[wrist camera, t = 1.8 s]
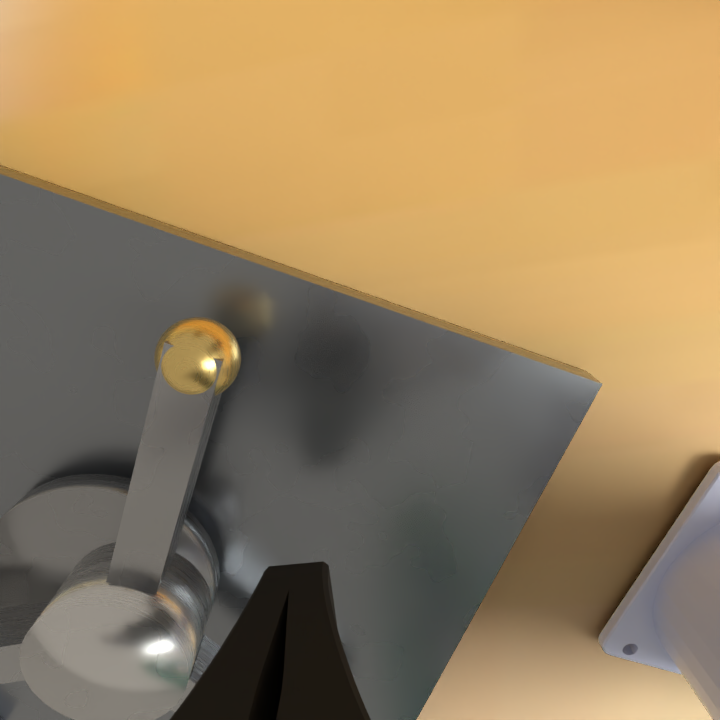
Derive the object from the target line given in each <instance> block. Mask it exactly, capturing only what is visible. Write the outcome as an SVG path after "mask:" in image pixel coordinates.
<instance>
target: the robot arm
mask: <svg viewBox="0 0 720 720" xmlns="http://www.w3.org/2000/svg"><path fill="white" fill-rule="evenodd" d="M598 641H599V644H600V645H601V647H602V649H603V651H604V652H605V653H607V654H609V655H612V656H615V657H619V658H623V659H626V660H630V661H634V662H637V663H641V664H645V665H648V666H652V667H656V668H660V669H663V670H667V671H671V672H674V673H678V674H682V675H683V676H684V678H685V679H686V681H687V682H688V684H689V685H690V686H691V688H692V689H693V691H694V692H695V694H696V695H697V697H698V698H699V700H700V701H701V703H702V704H703V706H704V707H705V709H706V710H707V712H708V713H709V715H710V716H711V718H712V719H713V720H720V461H718V462H717V463H715V464H714V465H713V466H712V467H711V469H710V470H709V472H708V473H707V474H706V476H705V477H704V479H703V480H702V482H701V483H700V485H699V486H698V488H697V489H696V491H695V492H694V494H693V495H692V497H691V498H690V500H689V501H688V503H687V504H686V506H685V507H684V509H683V510H682V512H681V513H680V515H679V516H678V518H677V519H676V521H675V522H674V524H673V525H672V527H671V528H670V530H669V531H668V533H667V534H666V536H665V537H664V539H663V540H662V542H661V543H660V545H659V546H658V548H657V549H656V551H655V552H654V554H653V555H652V557H651V558H650V560H649V561H648V563H647V564H646V566H645V567H644V569H643V570H642V572H641V573H640V575H639V576H638V578H637V579H636V581H635V582H634V584H633V585H632V587H631V588H630V590H629V591H628V592H627V594H626V595H625V597H624V598H623V600H622V601H621V603H620V604H619V606H618V607H617V609H616V610H615V612H614V613H613V615H612V616H611V618H610V619H609V621H608V622H607V624H606V625H605V627H604V628H603V630H602V631H601V633H600V635H599V637H598ZM170 720H371V719H370V717H369V714H368V712H367V710H366V708H365V705H364V703H363V701H362V698H361V696H360V693H359V691H358V688H357V686H356V683H355V680H354V678H353V675H352V672H351V669H350V667H349V664H348V661H347V658H346V655H345V652H344V649H343V646H342V643H341V639H340V636H339V632H338V629H337V621H336V614H335V607H334V599H333V592H332V585H331V578H330V571H329V565H328V564H326V563H325V562H323V561H321V562H310V563H300V564H289V565H278V566H269V567H268V568H267V569H266V570H265V571H264V573H263V575H262V577H261V579H260V581H259V583H258V584H257V586H256V588H255V590H254V592H253V594H252V596H251V597H250V599H249V601H248V603H247V604H246V606H245V608H244V610H243V611H242V613H241V615H240V617H239V618H238V620H237V622H236V623H235V625H234V626H233V628H232V630H231V631H230V633H229V635H228V636H227V638H226V639H225V641H224V643H223V644H222V646H221V648H220V649H219V651H218V652H217V654H216V655H215V657H214V658H213V660H212V661H211V663H210V664H209V666H208V667H207V668H206V670H205V671H204V673H203V674H202V676H201V677H200V679H199V680H198V682H197V683H196V684H195V686H194V687H193V689H192V690H191V692H190V693H189V694H188V696H187V697H186V698H185V700H184V701H183V703H182V704H181V705H180V707H179V708H178V709H177V711H176V712H175V713H174V715H173V716H172V717H171V718H170Z"/></svg>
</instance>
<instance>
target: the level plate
mask: <svg viewBox="0 0 720 720" xmlns="http://www.w3.org/2000/svg"><path fill="white" fill-rule="evenodd" d="M191 317H205V318H209V319H213V320H215V321H218V322H219V323H221V324H223V325H224V326H225V327H227V328H228V329H229V330H230V331H231V332H232V334H233V335H234V337H235V338H236V340H237V342H238V344H239V347H240V352H241V365H240V369H239V372H238V375H237V377H236V378H235V380H234V381H233V383H232V384H231V385H230V386H229V387H228V388H227V389H226V390H225V391H223V392H222V395H221V398H220V402H219V405H218V408H217V412H216V415H215V419H214V422H213V426H212V429H211V432H210V436H209V439H208V443H207V446H206V450H205V453H204V456H203V460H202V463H201V467H200V470H199V474H198V477H197V481H196V484H195V487H194V491H193V494H192V498H191V501H190V505H189V508H188V510H189V511H190V512H191V513H192V514H193V515H194V516H195V517H196V518H197V520H198V521H199V522H200V523H201V525H202V526H203V527H204V528H205V530H206V532H207V533H208V535H209V537H210V538H211V540H212V543H213V545H214V547H215V550H216V553H217V557H218V561H219V571H220V577H219V586H218V590H217V594H216V598H215V601H214V604H213V607H212V610H211V613H210V616H209V619H208V622H207V625H206V628H205V631H204V634H205V635H206V636H207V637H209V638H210V639H211V640H212V641H214V642H215V643H216V644H217V645H219V646H220V647H221V646H222V644H223V643H224V641H225V639H226V638H227V636H228V635H229V633H230V631H231V630H232V628H233V626H234V625H235V623H236V622H237V620H238V618H239V617H240V615H241V613H242V611H243V610H244V608H245V606H246V604H247V603H248V601H249V599H250V597H251V596H252V594H253V592H254V590H255V588H256V586H257V584H258V583H259V581H260V579H261V577H262V575H263V573H264V571H265V570H266V569H267V568H268V567H269V566H278V565H289V564H300V563H310V562H321V561H323V562H325V563H326V564H328V565H329V571H330V578H331V585H332V592H333V599H334V607H335V614H336V621H337V629H338V632H339V636H340V639H341V643H342V646H343V649H344V652H345V655H346V658H347V661H348V664H349V667H350V669H351V672H352V675H353V678H354V680H355V683H356V686H357V688H358V691H359V693H360V696H361V698H362V701H363V703H364V705H365V708H366V710H367V712H368V714H369V717H370V719H371V720H416V719H417V717H418V716H419V714H420V712H421V710H422V708H423V707H424V705H425V703H426V701H427V699H428V698H429V696H430V694H431V692H432V690H433V689H434V687H435V685H436V683H437V681H438V680H439V678H440V676H441V674H442V672H443V671H444V669H445V667H446V665H447V663H448V661H449V660H450V658H451V656H452V654H453V652H454V651H455V649H456V647H457V645H458V643H459V642H460V640H461V638H462V636H463V634H464V633H465V631H466V629H467V627H468V625H469V624H470V622H471V620H472V618H473V616H474V615H475V613H476V611H477V609H478V607H479V606H480V604H481V602H482V600H483V598H484V597H485V595H486V593H487V591H488V589H489V588H490V586H491V584H492V582H493V580H494V579H495V577H496V575H497V573H498V571H499V570H500V568H501V566H502V564H503V562H504V561H505V559H506V557H507V555H508V553H509V552H510V550H511V548H512V546H513V544H514V543H515V541H516V539H517V537H518V535H519V533H520V532H521V530H522V528H523V526H524V524H525V523H526V521H527V519H528V517H529V515H530V514H531V512H532V510H533V508H534V506H535V505H536V503H537V501H538V499H539V497H540V496H541V494H542V492H543V490H544V488H545V487H546V485H547V483H548V481H549V479H550V478H551V476H552V474H553V472H554V470H555V469H556V467H557V465H558V463H559V461H560V460H561V458H562V456H563V454H564V452H565V451H566V449H567V447H568V445H569V443H570V442H571V440H572V438H573V436H574V434H575V433H576V431H577V429H578V427H579V425H580V424H581V422H582V420H583V418H584V416H585V415H586V413H587V411H588V409H589V407H590V406H591V404H592V402H593V400H594V398H595V396H596V395H597V393H598V391H599V389H600V387H601V386H602V383H600V382H599V381H598V380H597V379H595V378H594V377H593V376H592V375H590V374H589V373H588V372H587V371H585V370H582V369H579V368H576V367H573V366H570V365H567V364H565V363H562V362H559V361H556V360H553V359H550V358H548V357H545V356H542V355H539V354H536V353H533V352H530V351H528V350H525V349H522V348H519V347H516V346H513V345H510V344H508V343H505V342H502V341H499V340H496V339H493V338H491V337H488V336H485V335H482V334H479V333H476V332H473V331H471V330H468V329H465V328H462V327H459V326H456V325H454V324H451V323H448V322H445V321H442V320H439V319H436V318H434V317H431V316H428V315H425V314H422V313H419V312H416V311H414V310H411V309H408V308H405V307H402V306H399V305H397V304H394V303H391V302H388V301H385V300H382V299H379V298H377V297H374V296H371V295H368V294H365V293H362V292H360V291H357V290H354V289H351V288H348V287H345V286H342V285H340V284H337V283H334V282H331V281H328V280H325V279H323V278H320V277H317V276H314V275H311V274H308V273H305V272H303V271H300V270H297V269H294V268H291V267H288V266H285V265H283V264H280V263H277V262H274V261H271V260H268V259H266V258H263V257H260V256H257V255H254V254H251V253H248V252H246V251H243V250H240V249H237V248H234V247H231V246H229V245H226V244H223V243H220V242H217V241H214V240H211V239H209V238H206V237H203V236H200V235H197V234H194V233H191V232H189V231H186V230H183V229H180V228H177V227H174V226H172V225H169V224H166V223H163V222H160V221H157V220H154V219H152V218H149V217H146V216H143V215H140V214H137V213H135V212H132V211H129V210H126V209H123V208H120V207H117V206H115V205H112V204H109V203H106V202H103V201H100V200H97V199H95V198H92V197H89V196H86V195H83V194H80V193H78V192H75V191H72V190H69V189H66V188H63V187H60V186H58V185H55V184H52V183H49V182H46V181H43V180H41V179H38V178H35V177H32V176H29V175H26V174H23V173H21V172H18V171H15V170H12V169H9V168H6V167H3V166H1V165H0V518H1V517H2V516H3V515H4V514H5V513H6V512H7V511H8V510H10V509H11V508H12V507H13V506H14V505H15V504H16V503H17V502H18V501H19V500H20V499H21V498H22V497H24V496H25V495H26V494H27V493H29V492H30V491H31V490H33V489H35V488H37V487H39V486H40V485H42V484H44V483H47V482H50V481H52V480H55V479H58V478H62V477H66V476H71V475H79V474H107V475H115V476H121V477H125V478H129V479H131V478H132V474H133V470H134V466H135V462H136V457H137V453H138V449H139V445H140V441H141V437H142V433H143V429H144V424H145V420H146V416H147V412H148V408H149V404H150V400H151V396H152V391H153V387H154V383H155V379H156V375H157V371H156V368H155V362H154V355H155V348H156V345H157V343H158V341H159V339H160V337H161V335H162V334H163V333H164V332H165V331H166V330H167V329H168V328H169V327H170V326H171V325H173V324H174V323H176V322H178V321H180V320H183V319H186V318H191ZM204 634H203V635H204ZM173 715H174V712H173V711H171V710H170V711H168V712H167V713H166V714H164V715H162V716H161V717H159V718H157V719H155V720H170V718H171V717H172V716H173ZM0 720H74V719H71V718H69V717H67V716H64V715H62V714H60V713H59V712H57V711H55V710H54V709H52V708H51V707H49V706H48V705H46V704H45V703H44V702H43V701H42V700H41V699H39V698H38V697H37V696H36V695H35V693H34V692H33V691H32V690H31V689H30V687H29V686H28V684H27V682H26V681H25V680H24V681H17V682H11V683H4V684H0Z"/></svg>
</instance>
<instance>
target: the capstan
mask: <svg viewBox="0 0 720 720" xmlns="http://www.w3.org/2000/svg"><path fill="white" fill-rule="evenodd" d="M154 362H155V368H156V371H157V375H156V379H155V383H154V387H153V391H152V396H151V400H150V404H149V408H148V412H147V416H146V420H145V424H144V429H143V433H142V437H141V441H140V445H139V449H138V453H137V457H136V462H135V466H134V470H133V474H132V478H131V479H129V478H125V477H121V476H115V475H107V474H79V475H71V476H66V477H62V478H58V479H55V480H52V481H50V482H47V483H44V484H42V485H40V486H39V487H37V488H35V489H33V490H31V491H30V492H29V493H27V494H26V495H25V496H24V497H22V498H21V499H20V500H19V501H18V502H17V503H16V504H15V505H14V506H13V507H12V508H11V509H10V510H8V511H7V512H6V513H5V514H4V515H3V516H2V517H1V518H0V684H4V683H11V682H17V681H24V680H25V681H26V682H27V684H28V686H29V687H30V689H31V690H32V691H33V692H34V693H35V695H36V696H37V697H38V698H39V699H41V700H42V701H43V702H44V703H45V704H46V705H48V706H49V707H51V708H52V709H54V710H55V711H57V712H59V713H60V714H62V715H64V716H67V717H69V718H71V719H74V720H155V719H157V718H159V717H161V716H162V715H164V714H166V713H167V712H168V711H170V710H171V711H173V712H174V713H175V712H176V711H177V709H178V708H179V707H180V705H181V704H182V703H183V701H184V700H185V698H186V697H187V696H188V694H189V693H190V692H191V690H192V689H193V687H194V686H195V684H196V683H197V682H198V680H199V679H200V677H201V676H202V674H203V673H204V671H205V670H206V668H207V667H208V666H209V664H210V663H211V661H212V660H213V658H214V657H215V655H216V654H217V652H218V651H219V649H220V648H221V647H220V646H219V645H217V644H216V643H215V642H214V641H212V640H211V639H210V638H209V637H207V636H206V635H205V634H204V631H205V628H206V625H207V622H208V619H209V616H210V613H211V610H212V607H213V604H214V601H215V598H216V594H217V590H218V586H219V577H220V571H219V561H218V557H217V553H216V550H215V547H214V545H213V543H212V540H211V538H210V537H209V535H208V533H207V532H206V530H205V528H204V527H203V526H202V525H201V523H200V522H199V521H198V520H197V518H196V517H195V516H194V515H193V514H192V513H191V512H190V511H189V510H188V508H189V505H190V501H191V498H192V494H193V491H194V487H195V484H196V481H197V477H198V474H199V470H200V467H201V463H202V460H203V456H204V453H205V450H206V446H207V443H208V439H209V436H210V432H211V429H212V426H213V422H214V419H215V415H216V412H217V408H218V405H219V402H220V398H221V395H222V392H223V391H225V390H226V389H227V388H228V387H229V386H230V385H231V384H232V383H233V381H234V380H235V378H236V377H237V375H238V372H239V369H240V365H241V352H240V347H239V344H238V342H237V340H236V338H235V337H234V335H233V334H232V332H231V331H230V330H229V329H228V328H227V327H225V326H224V325H223V324H221V323H219V322H218V321H215V320H213V319H209V318H205V317H191V318H186V319H183V320H180V321H178V322H176V323H174V324H173V325H171V326H170V327H169V328H168V329H167V330H166V331H165V332H164V333H163V334H162V335H161V337H160V339H159V341H158V343H157V345H156V348H155V355H154ZM203 634H204V635H203Z"/></svg>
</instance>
